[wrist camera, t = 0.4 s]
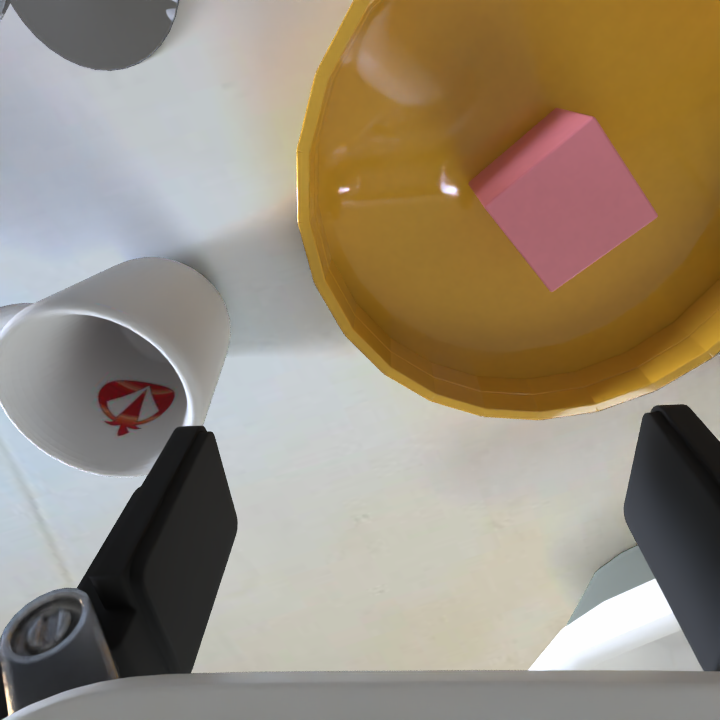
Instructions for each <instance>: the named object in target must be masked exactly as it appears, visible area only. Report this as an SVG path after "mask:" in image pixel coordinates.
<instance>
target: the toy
mask: <svg viewBox="0 0 720 720" xmlns="http://www.w3.org/2000/svg"><path fill="white" fill-rule="evenodd" d="M468 184H469V186H470V187H471V189H472V190H473V192H474V193H475V195H476V196H477V198H478V199H479V200H480V202H481V203H482V205H483V206H484V208H485V209H486V210H487V212H488V213H489V214H490V215H491V217H492V218H493V219H494V221H495V222H496V223H497V224H498V226H499V227H500V228H501V229H502V231H503V232H504V233H505V235H506V236H507V237H508V238H509V240H510V241H511V242H512V243H513V245H514V246H515V247H516V249H517V250H518V251H519V252H520V254H521V255H522V256H523V257H524V259H525V260H526V261H527V263H528V264H529V265H530V266H531V268H532V269H533V270H534V271H535V273H536V274H537V275H538V277H539V278H540V279H541V280H542V282H543V283H544V284H545V285H546V287H547V288H548V289H549V291H551V292H553V291H555V290H556V289H557V288H559V287H560V286H562V285H563V284H564V283H566V282H567V281H569V280H570V279H571V278H573V277H574V276H576V275H577V274H578V273H580V272H581V271H583V270H584V269H586V268H587V267H588V266H590V265H591V264H593V263H594V262H595V261H597V260H598V259H600V258H601V257H602V256H604V255H605V254H607V253H608V252H609V251H611V250H612V249H614V248H615V247H616V246H618V245H619V244H621V243H622V242H623V241H625V240H626V239H628V238H629V237H630V236H632V235H633V234H635V233H636V232H637V231H639V230H640V229H642V228H643V227H645V226H646V225H647V224H649V223H650V222H652V221H653V220H654V219H656V218H657V217H658V215H657V213H656V211H655V210H654V208H653V207H652V205H651V203H650V202H649V200H648V199H647V197H646V196H645V194H644V193H643V191H642V189H641V188H640V186H639V185H638V183H637V182H636V180H635V179H634V177H633V175H632V174H631V172H630V171H629V169H628V168H627V166H626V165H625V163H624V161H623V160H622V158H621V157H620V155H619V154H618V152H617V151H616V149H615V147H614V146H613V144H612V143H611V141H610V140H609V138H608V137H607V135H606V133H605V132H604V130H603V129H602V127H601V126H600V124H599V123H598V121H597V120H596V118H595V117H593V116H589V115H585V114H581V113H577V112H573V111H568V110H564V109H560V108H555V109H554V110H553V111H552V112H551V113H549V114H548V115H547V116H546V117H545V118H544V119H542V120H541V121H540V122H539V123H538V124H537V125H535V126H534V127H533V128H532V129H531V130H529V131H528V132H527V133H526V134H525V135H524V136H522V137H521V138H520V139H519V140H518V141H517V142H515V143H514V144H513V145H512V146H511V147H510V148H508V149H507V150H506V151H505V152H504V153H503V154H501V155H500V156H499V157H498V158H497V159H495V160H494V161H493V162H492V163H491V164H490V165H488V166H487V167H486V168H485V169H484V170H483V171H481V172H480V173H479V174H478V175H477V176H476V177H474V178H473V179H472V180H471V181H470V182H469V183H468Z"/></svg>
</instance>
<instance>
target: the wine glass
mask: <svg viewBox="0 0 720 720" xmlns="http://www.w3.org/2000/svg"><path fill="white" fill-rule="evenodd" d="M10 3H11V5H12V6H13V8H14V9H15V11H16V12H17V14H18V15H19V17H20V18H21V20H22V21H23V22H24V23H25V25H26V26H27V27H28V28H29V29H30V30H31V31H32V33H33V34H34V35H35V36H36V37H37V38H38V39H39V40H40V41H42V42H43V43H44V44H45V45H46V46H47V47H48V48H49V49H51V50H52V51H54V52H55V53H57V54H58V55H60V56H61V57H63V58H65V59H67V60H69V61H71V62H73V63H75V64H78V65H80V66H83V67H87V68H91V69H95V70H107V71H112V70H120V69H126V68H128V67H131V66H134V65H137V64H139V63H140V62H142V61H143V60H145V59H147V58H148V57H150V56H151V55H152V54H153V53H154V52H155V51H156V50H157V49H158V48H159V47H160V46H161V44H162V43H163V41H164V40H165V38H166V37H167V35H168V34H169V32H170V29H171V27H172V25H173V22H174V20H175V17H176V13H177V9H178V4H179V0H0V21H1V20H2V18H3V16H4V14H5V12H6V10H7V8H8V6H9V4H10Z"/></svg>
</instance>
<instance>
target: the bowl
mask: <svg viewBox="0 0 720 720" xmlns="http://www.w3.org/2000/svg"><path fill="white" fill-rule="evenodd" d="M529 670H663V671H703V669H702V667H701V666H700V664H699V662H698V660H697V658H696V656H695V654H694V652H693V650H692V648H691V646H690V645H689V643H688V641H687V639H686V637H685V635H684V633H683V631H682V629H681V627H680V625H679V623H678V621H677V619H676V618H675V616H674V614H673V612H672V610H671V608H670V606H669V604H668V602H667V600H666V598H665V596H664V594H663V593H662V591H661V589H660V587H659V585H658V583H657V581H656V579H655V577H654V575H653V573H652V571H651V569H650V567H649V566H648V564H647V562H646V560H645V558H644V556H643V554H642V552H641V550H640V548H639V546H638V545H637V546H635V547H633V548H631V549H629V550H627V551H625V552H623V553H621V554H619V555H618V556H617V557H615V558H614V559H612V560H611V561H610V562H608V563H607V564H606V565H604V566H603V567H601V568H600V569H599V570H597V571H596V573H595V574H594V576H593V578H592V579H591V581H590V583H589V585H588V587H587V588H586V590H585V592H584V594H583V596H582V598H581V599H580V601H579V603H578V605H577V607H576V609H575V610H574V612H573V614H572V616H571V618H570V620H569V621H568V623H567V625H566V627H565V628H563V629H562V630H561V631H560V632H559V633H558V635H557V636H556V637H555V638H554V640H553V641H552V642H551V643H550V644H549V646H548V647H547V648H546V649H545V650H544V652H543V653H542V654H541V655H540V657H539V658H538V659H537V660H536V661H535V663H534V664H533V665H532V666H531V667H530V669H529Z"/></svg>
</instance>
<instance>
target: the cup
mask: <svg viewBox="0 0 720 720" xmlns="http://www.w3.org/2000/svg"><path fill="white" fill-rule="evenodd" d="M230 336H231V326H230V318H229V314H228V311H227V308H226V306H225V303H224V301H223V299H222V297H221V296H220V294H219V293H218V291H217V290H216V288H215V287H214V286H213V285H212V284H211V283H210V282H209V281H208V280H207V279H206V278H205V277H204V276H203V275H201V274H200V273H199V272H197V271H196V270H194V269H193V268H191V267H189V266H187V265H185V264H183V263H180V262H177V261H174V260H170V259H166V258H158V257H145V258H138V259H133V260H129V261H126V262H123V263H120V264H118V265H115V266H113V267H111V268H109V269H106V270H104V271H102V272H100V273H98V274H96V275H94V276H91V277H89V278H87V279H85V280H83V281H81V282H79V283H77V284H74V285H72V286H70V287H68V288H66V289H64V290H62V291H59V292H57V293H55V294H53V295H51V296H49V297H47V298H44V299H42V300H40V301H38V302H36V303H20V304H12V305H7V306H3V307H0V405H1V406H2V408H3V410H4V411H5V413H6V415H7V416H8V418H9V419H10V420H11V422H12V423H13V424H14V425H15V426H16V428H17V429H18V430H19V431H20V432H21V433H22V434H23V435H24V436H25V437H26V438H27V439H28V440H29V441H30V442H31V443H33V444H34V445H35V446H36V447H38V448H39V449H40V450H42V451H43V452H45V453H46V454H48V455H49V456H51V457H53V458H54V459H56V460H58V461H60V462H62V463H64V464H66V465H68V466H71V467H73V468H76V469H78V470H81V471H84V472H88V473H92V474H96V475H100V476H108V477H121V478H126V477H139V476H144V475H148V474H149V472H150V470H151V469H152V467H153V465H154V464H155V462H156V460H157V458H158V457H159V455H160V453H161V452H162V450H163V448H164V447H165V445H166V443H167V441H168V440H169V438H170V436H171V435H172V433H173V431H174V430H175V429H176V427H179V426H203V424H204V421H205V418H206V415H207V412H208V409H209V406H210V403H211V400H212V397H213V394H214V391H215V388H216V385H217V382H218V379H219V376H220V373H221V370H222V367H223V364H224V361H225V358H226V355H227V352H228V348H229V344H230Z"/></svg>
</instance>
